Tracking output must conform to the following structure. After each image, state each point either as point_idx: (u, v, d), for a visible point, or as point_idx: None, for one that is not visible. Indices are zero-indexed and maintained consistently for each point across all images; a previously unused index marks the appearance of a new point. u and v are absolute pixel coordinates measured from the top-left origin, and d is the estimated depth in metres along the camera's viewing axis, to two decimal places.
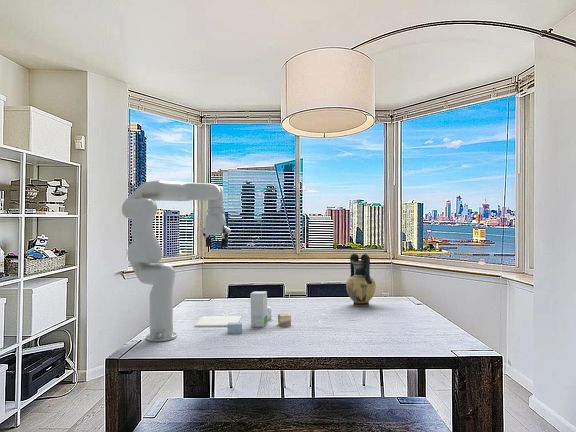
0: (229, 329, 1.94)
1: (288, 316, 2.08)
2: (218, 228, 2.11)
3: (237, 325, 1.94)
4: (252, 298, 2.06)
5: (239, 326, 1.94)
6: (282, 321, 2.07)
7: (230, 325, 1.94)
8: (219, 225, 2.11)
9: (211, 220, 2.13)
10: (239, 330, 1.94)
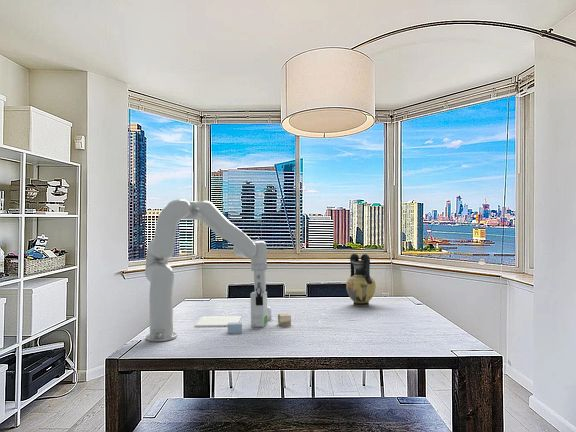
0: (229, 329, 1.94)
1: (288, 316, 2.08)
2: None
3: (237, 325, 1.95)
4: (252, 298, 2.06)
5: (239, 326, 1.95)
6: (282, 321, 2.07)
7: (230, 325, 1.94)
8: None
9: None
10: (239, 330, 1.95)
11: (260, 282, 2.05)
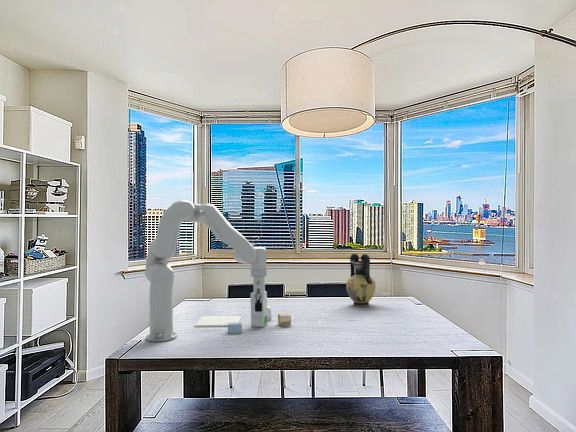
0: (229, 329, 1.94)
1: (288, 316, 2.08)
2: None
3: (237, 325, 1.95)
4: (252, 298, 2.06)
5: (239, 326, 1.95)
6: (282, 321, 2.07)
7: (230, 325, 1.94)
8: None
9: (264, 282, 2.10)
10: (239, 330, 1.95)
11: (259, 288, 2.05)
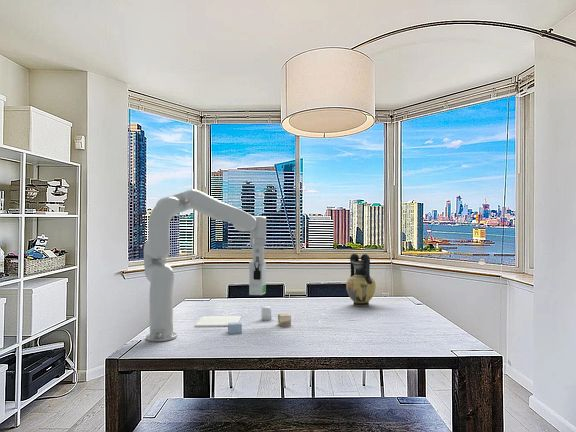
0: (229, 329, 1.94)
1: (288, 316, 2.08)
2: None
3: (238, 325, 1.95)
4: (251, 266, 2.06)
5: (240, 326, 1.95)
6: (282, 321, 2.07)
7: (230, 325, 1.94)
8: None
9: None
10: (240, 330, 1.95)
11: (259, 256, 2.05)
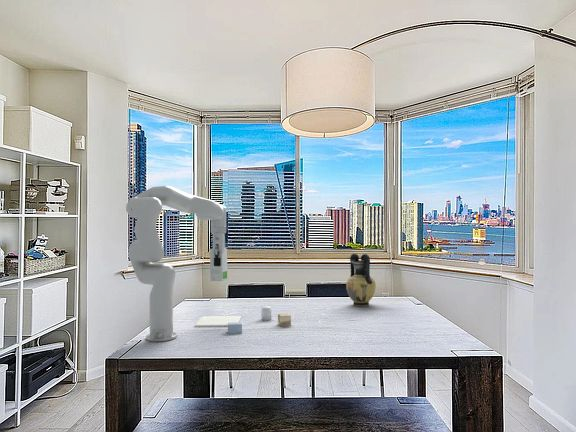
0: (230, 329, 1.94)
1: (288, 316, 2.08)
2: None
3: (238, 325, 1.95)
4: (211, 253, 2.14)
5: (240, 326, 1.95)
6: (282, 321, 2.07)
7: (231, 325, 1.94)
8: None
9: (224, 239, 2.18)
10: (240, 330, 1.95)
11: (218, 244, 2.13)
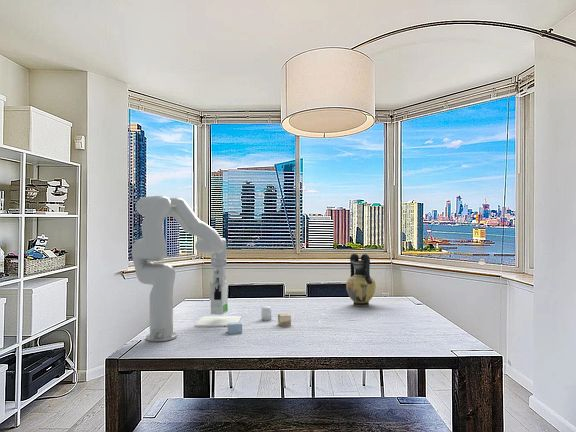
0: (230, 329, 1.94)
1: (288, 316, 2.08)
2: None
3: (238, 325, 1.95)
4: (212, 287, 2.14)
5: (240, 326, 1.95)
6: (282, 321, 2.07)
7: (231, 325, 1.94)
8: None
9: (224, 271, 2.17)
10: (240, 330, 1.95)
11: (218, 277, 2.13)
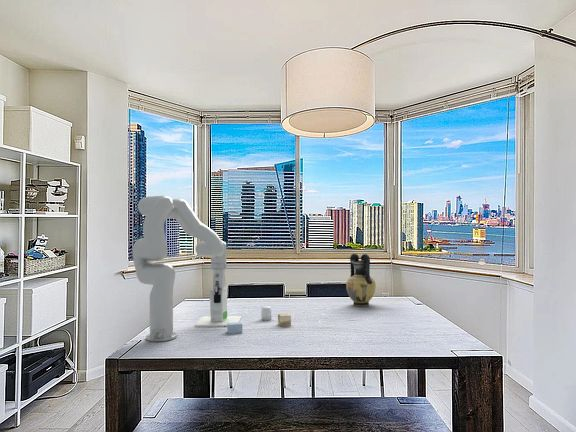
0: (230, 329, 1.94)
1: (288, 316, 2.08)
2: None
3: (238, 325, 1.95)
4: (211, 294, 2.14)
5: (240, 326, 1.95)
6: (282, 321, 2.07)
7: (231, 325, 1.94)
8: None
9: (224, 275, 2.17)
10: (240, 330, 1.95)
11: (218, 280, 2.13)
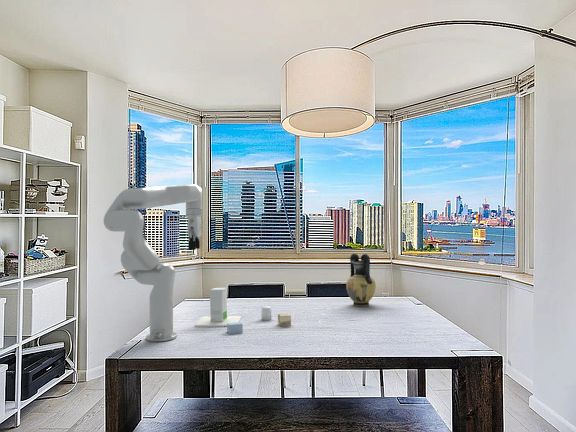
0: (231, 329, 1.94)
1: (288, 316, 2.08)
2: None
3: (238, 325, 1.95)
4: (212, 294, 2.14)
5: (240, 326, 1.95)
6: (282, 321, 2.07)
7: (232, 325, 1.94)
8: None
9: (199, 221, 2.08)
10: (240, 330, 1.95)
11: (193, 226, 2.03)
